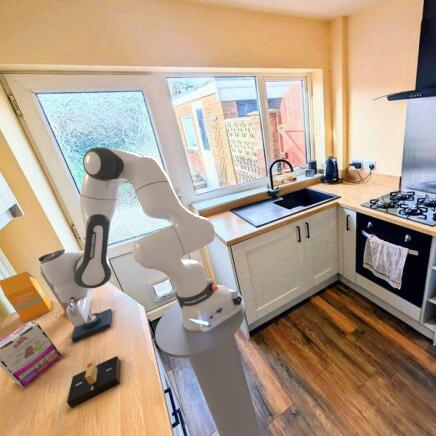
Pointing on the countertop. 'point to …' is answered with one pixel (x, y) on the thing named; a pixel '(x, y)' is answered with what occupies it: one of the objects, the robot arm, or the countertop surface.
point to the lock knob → (91, 373)
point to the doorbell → (93, 326)
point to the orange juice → (25, 295)
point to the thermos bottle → (64, 305)
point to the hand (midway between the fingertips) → (90, 318)
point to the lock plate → (104, 381)
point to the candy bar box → (27, 353)
